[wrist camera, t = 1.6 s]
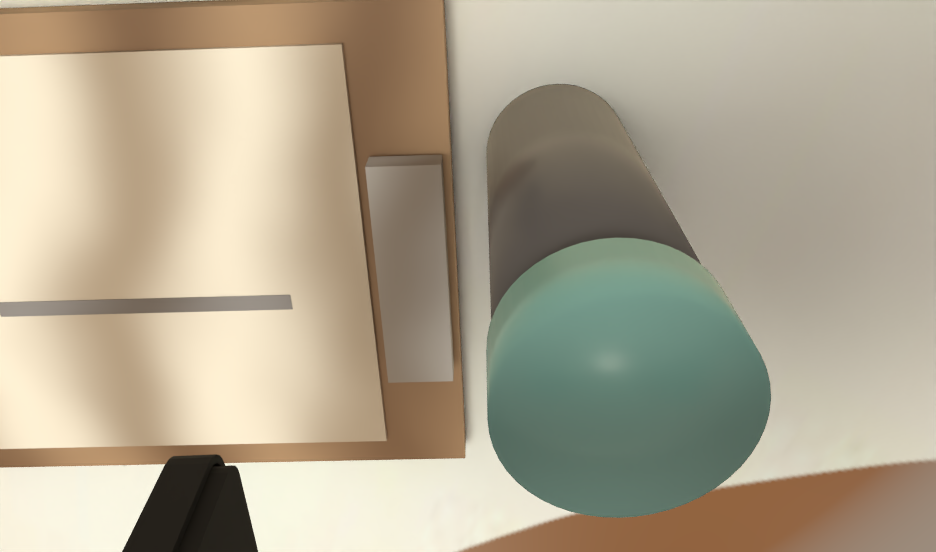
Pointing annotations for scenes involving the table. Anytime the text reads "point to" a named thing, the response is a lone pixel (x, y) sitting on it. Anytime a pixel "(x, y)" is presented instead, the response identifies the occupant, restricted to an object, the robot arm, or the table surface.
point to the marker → (605, 322)
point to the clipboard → (227, 233)
